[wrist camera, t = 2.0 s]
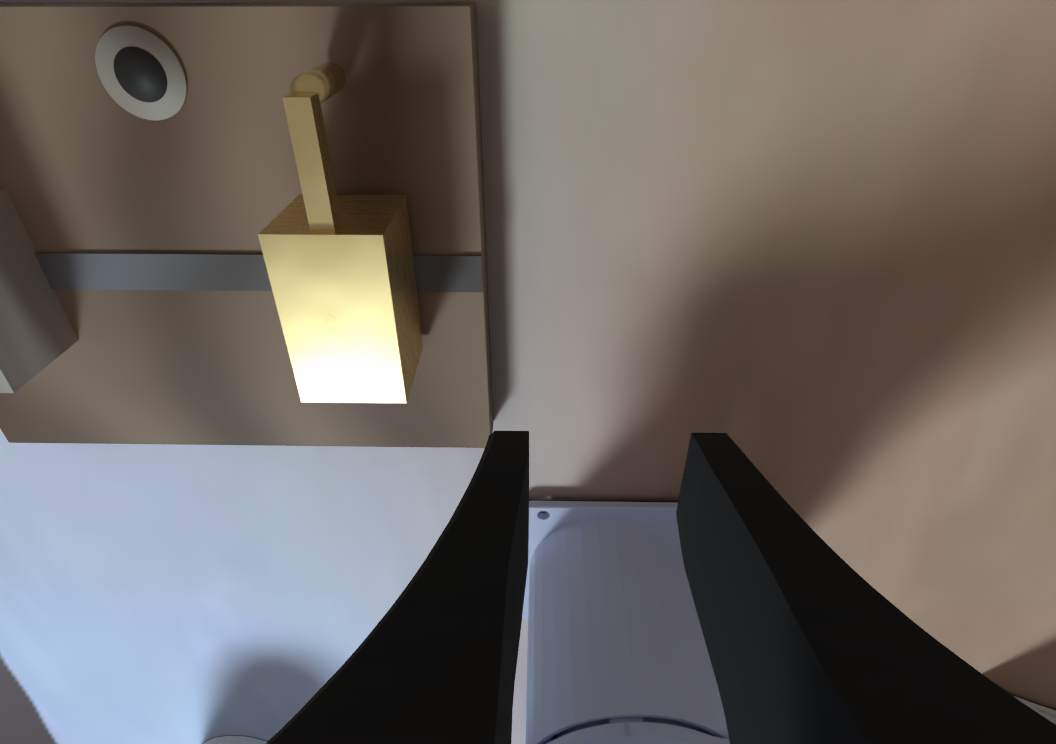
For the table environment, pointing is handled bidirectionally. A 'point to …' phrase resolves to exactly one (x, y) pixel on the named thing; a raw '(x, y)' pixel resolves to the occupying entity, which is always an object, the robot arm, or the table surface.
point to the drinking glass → (234, 740)
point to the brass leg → (341, 270)
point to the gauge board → (224, 217)
